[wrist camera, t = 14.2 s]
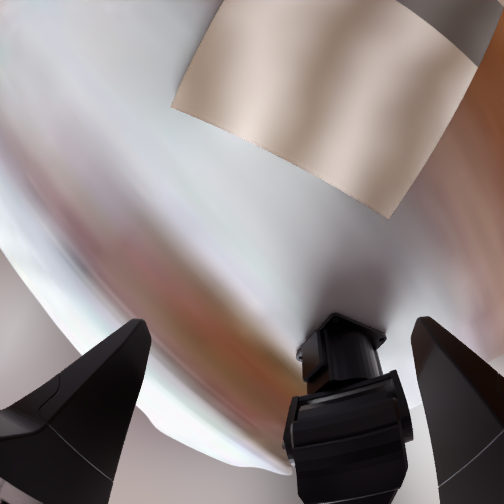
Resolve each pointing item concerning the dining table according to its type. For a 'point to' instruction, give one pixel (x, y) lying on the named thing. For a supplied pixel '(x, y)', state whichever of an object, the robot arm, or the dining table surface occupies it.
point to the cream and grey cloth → (340, 83)
